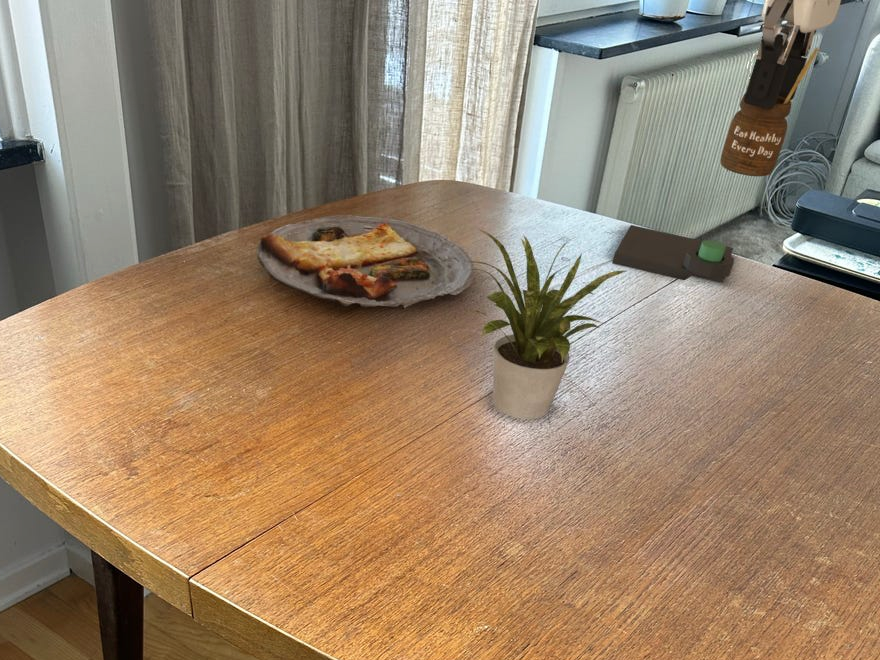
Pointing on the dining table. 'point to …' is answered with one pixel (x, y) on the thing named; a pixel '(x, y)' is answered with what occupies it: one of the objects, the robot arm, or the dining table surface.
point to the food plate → (365, 261)
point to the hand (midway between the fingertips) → (768, 99)
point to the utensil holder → (758, 134)
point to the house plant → (533, 337)
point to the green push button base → (669, 255)
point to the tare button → (712, 251)
